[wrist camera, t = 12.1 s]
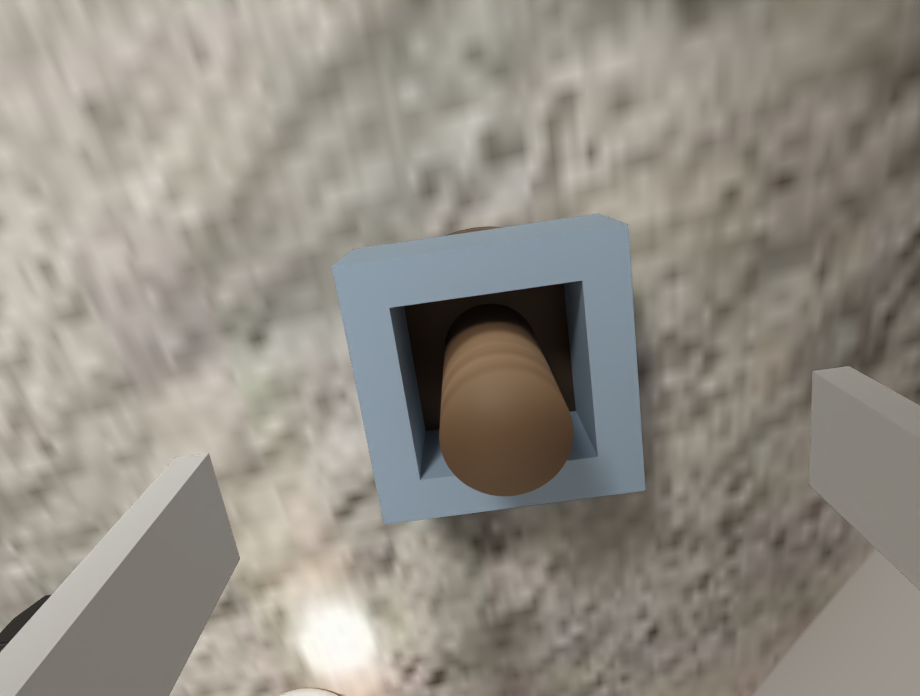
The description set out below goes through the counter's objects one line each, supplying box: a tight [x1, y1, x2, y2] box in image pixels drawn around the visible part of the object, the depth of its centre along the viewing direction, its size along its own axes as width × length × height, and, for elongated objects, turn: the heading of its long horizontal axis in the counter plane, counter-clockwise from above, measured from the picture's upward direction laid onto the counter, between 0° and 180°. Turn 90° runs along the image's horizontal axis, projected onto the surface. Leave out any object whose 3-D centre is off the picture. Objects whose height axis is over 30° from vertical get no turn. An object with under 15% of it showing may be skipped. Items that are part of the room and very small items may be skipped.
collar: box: [332, 214, 646, 525], centre depth 22 cm, size 9×9×4 cm
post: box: [404, 227, 576, 496], centre depth 21 cm, size 9×9×9 cm
